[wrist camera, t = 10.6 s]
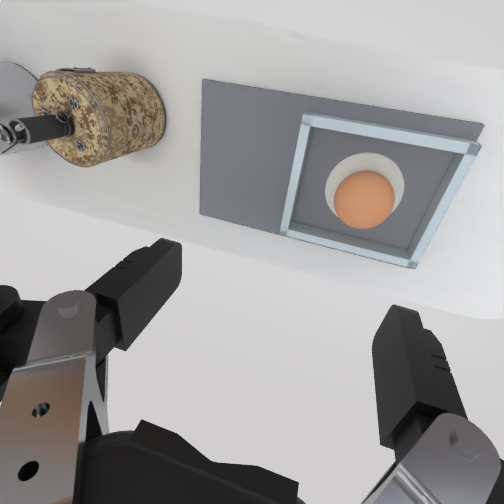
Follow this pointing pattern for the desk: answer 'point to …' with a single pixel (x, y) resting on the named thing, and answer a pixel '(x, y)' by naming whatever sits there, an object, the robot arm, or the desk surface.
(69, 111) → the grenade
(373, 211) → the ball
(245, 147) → the mat
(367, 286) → the desk surface
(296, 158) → the square tray
